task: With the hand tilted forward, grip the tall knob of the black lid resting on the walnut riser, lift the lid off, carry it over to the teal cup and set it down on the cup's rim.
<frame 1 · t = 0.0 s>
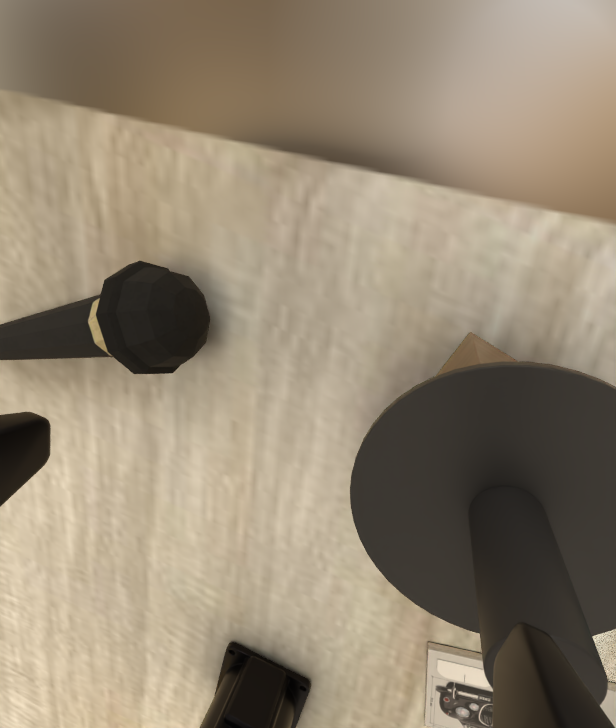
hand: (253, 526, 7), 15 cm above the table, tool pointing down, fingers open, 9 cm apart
microphone: (90, 315, 26), on the table
lid: (504, 508, 16), point 5 cm above the table, touching riser
car cutout: (559, 711, 24), on the table
riser: (488, 440, 21), on the table
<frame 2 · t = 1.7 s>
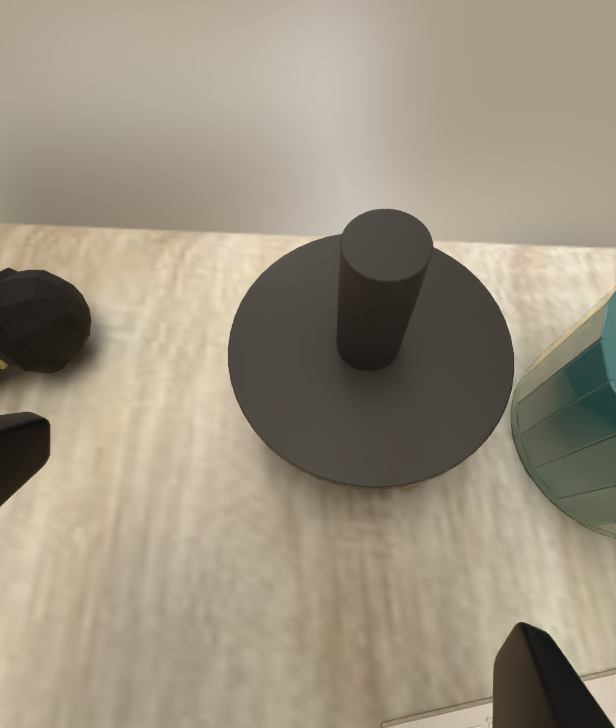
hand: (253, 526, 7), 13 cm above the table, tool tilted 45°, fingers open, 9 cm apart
lid: (366, 347, 18), point 5 cm above the table, touching riser
teal cup: (615, 434, 21), on the table
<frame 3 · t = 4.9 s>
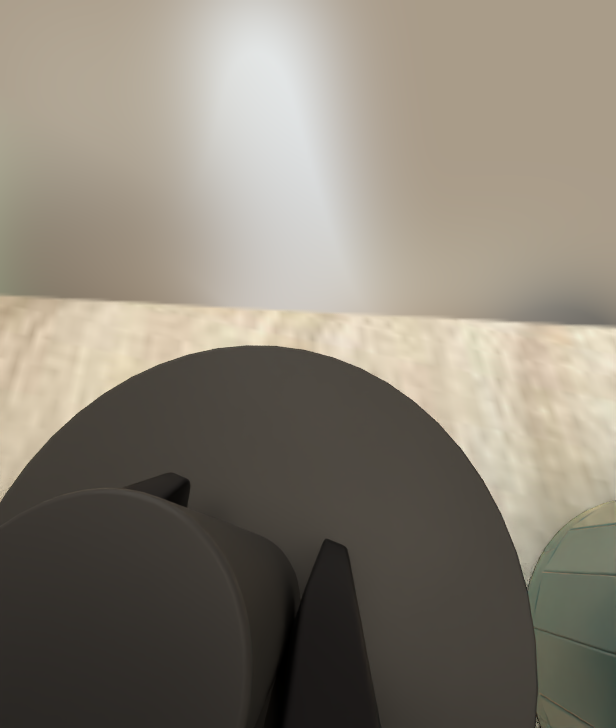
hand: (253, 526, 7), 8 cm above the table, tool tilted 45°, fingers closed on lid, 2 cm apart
lid: (240, 599, 9), point 6 cm above the table, touching gripper, riser
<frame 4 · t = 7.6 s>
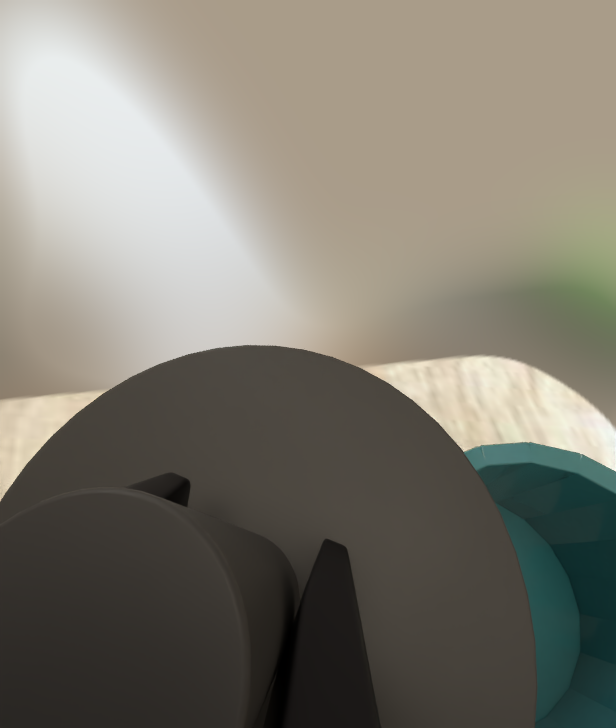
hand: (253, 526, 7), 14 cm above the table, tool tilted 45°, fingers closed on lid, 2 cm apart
lid: (239, 599, 9), point 12 cm above the table, touching gripper
teal cup: (465, 600, 19), on the table
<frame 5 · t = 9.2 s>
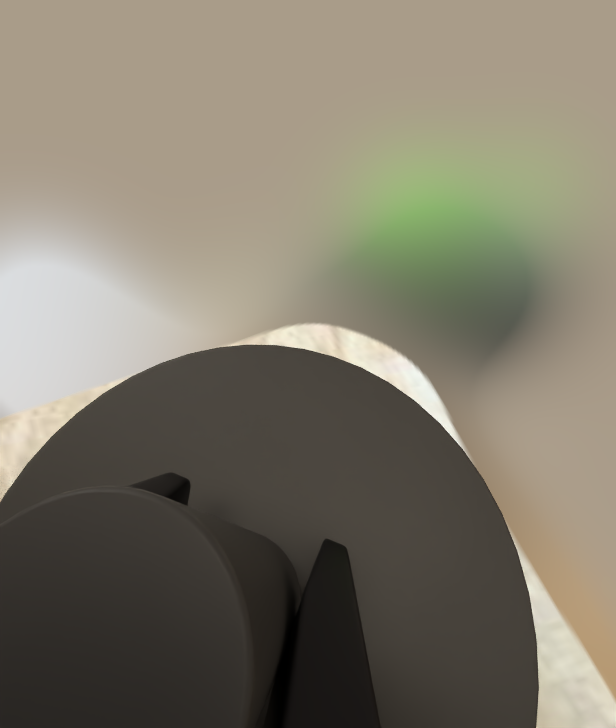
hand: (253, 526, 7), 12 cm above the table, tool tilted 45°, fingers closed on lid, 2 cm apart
lid: (240, 598, 9), point 10 cm above the table, touching gripper
when the fingers open (10 cm above the table, at t = 10.1 s): lid stays where it is, resting on teal cup.
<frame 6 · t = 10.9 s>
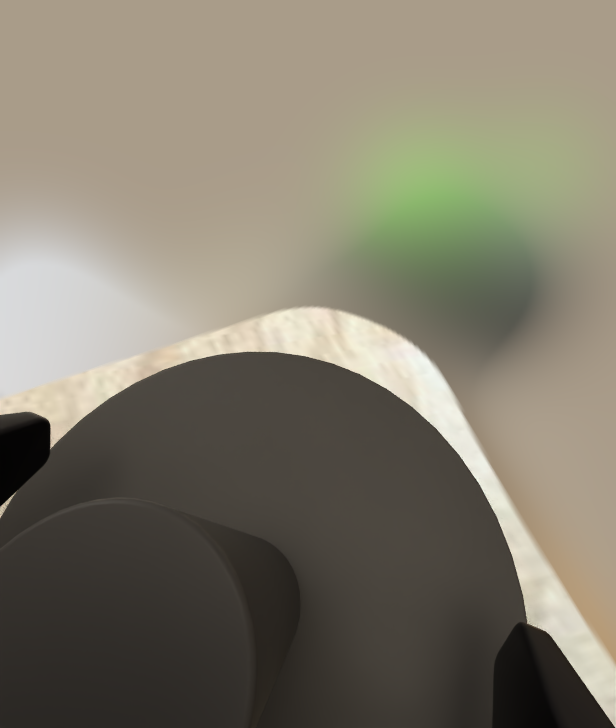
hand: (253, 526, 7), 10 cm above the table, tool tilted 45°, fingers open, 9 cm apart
lid: (241, 601, 9), point 8 cm above the table, touching teal cup
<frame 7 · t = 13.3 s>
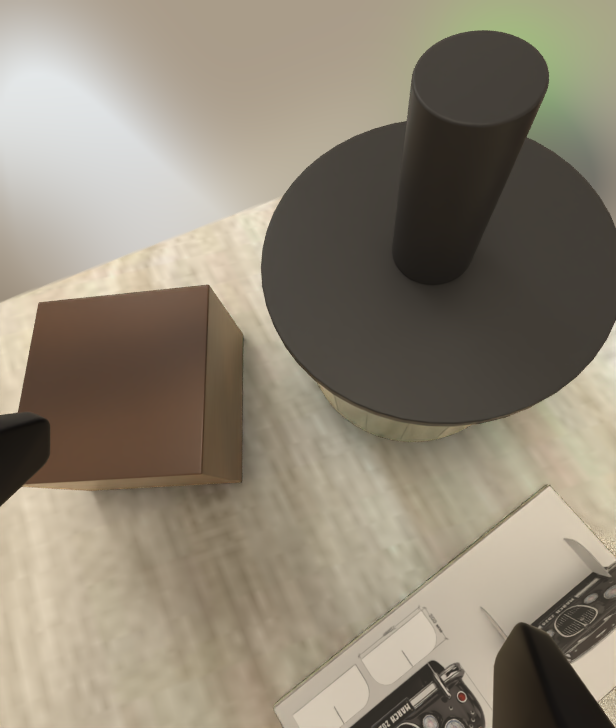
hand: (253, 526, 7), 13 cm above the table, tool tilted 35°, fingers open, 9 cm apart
lid: (429, 259, 14), point 8 cm above the table, touching teal cup
car cutout: (468, 664, 17), on the table
riser: (169, 409, 22), on the table
teal cup: (406, 344, 22), on the table
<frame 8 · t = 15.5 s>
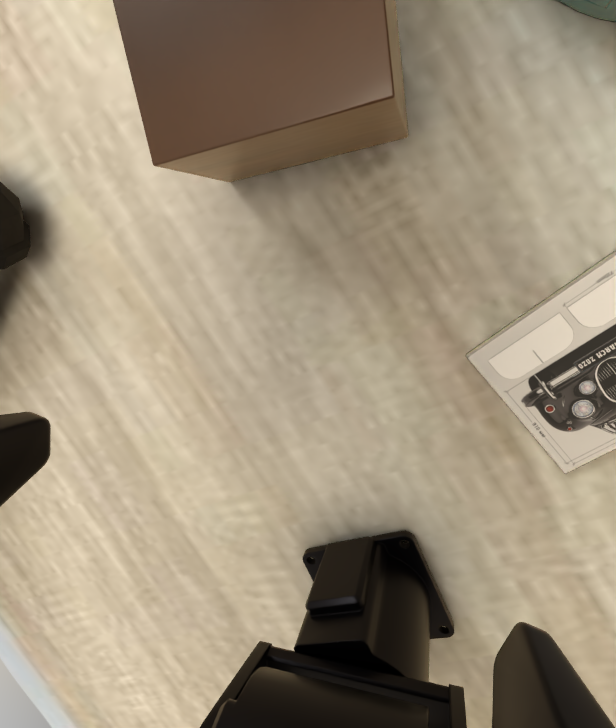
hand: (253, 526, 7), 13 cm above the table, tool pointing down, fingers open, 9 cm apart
riser: (295, 53, 17), on the table
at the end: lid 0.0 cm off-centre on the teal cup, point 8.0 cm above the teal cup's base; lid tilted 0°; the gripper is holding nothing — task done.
